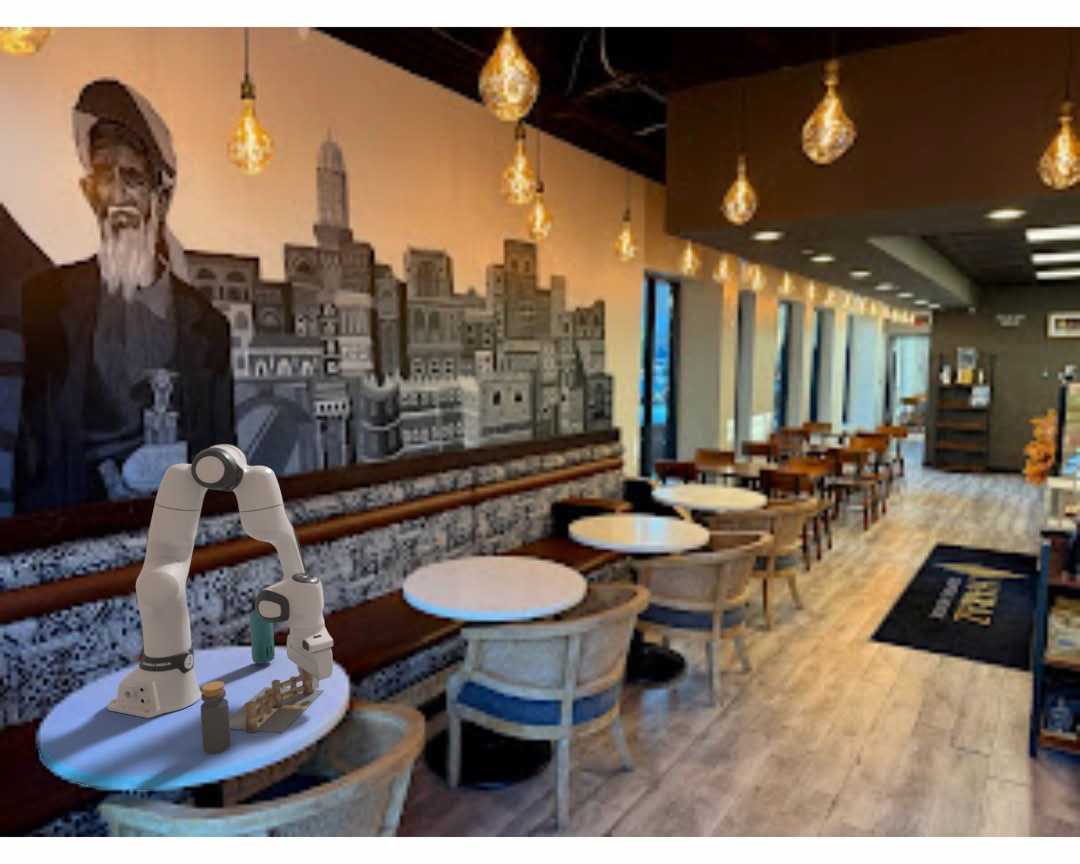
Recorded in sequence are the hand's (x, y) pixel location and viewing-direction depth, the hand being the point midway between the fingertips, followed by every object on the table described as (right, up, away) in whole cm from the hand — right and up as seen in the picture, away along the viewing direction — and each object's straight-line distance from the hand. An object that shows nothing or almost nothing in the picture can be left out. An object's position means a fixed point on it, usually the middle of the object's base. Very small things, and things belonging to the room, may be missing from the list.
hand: (309, 684), depth 192 cm
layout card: (-7, -4, -7) cm, 11 cm away
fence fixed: (-7, -4, -12) cm, 15 cm away
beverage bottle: (-20, -2, +21) cm, 29 cm away
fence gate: (-2, -2, -1) cm, 4 cm away
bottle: (-13, -6, -25) cm, 29 cm away
